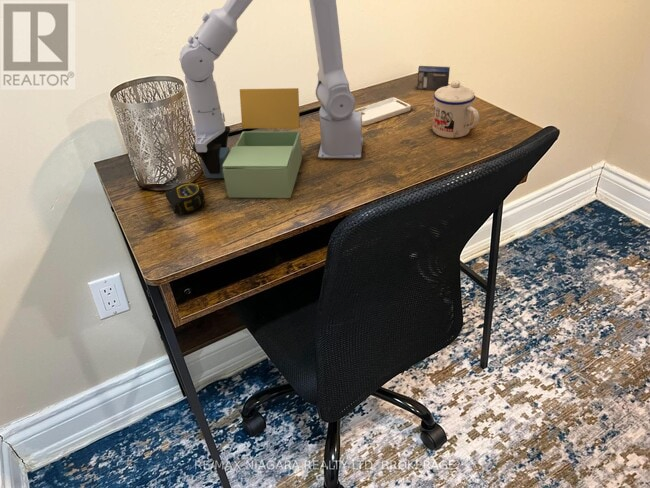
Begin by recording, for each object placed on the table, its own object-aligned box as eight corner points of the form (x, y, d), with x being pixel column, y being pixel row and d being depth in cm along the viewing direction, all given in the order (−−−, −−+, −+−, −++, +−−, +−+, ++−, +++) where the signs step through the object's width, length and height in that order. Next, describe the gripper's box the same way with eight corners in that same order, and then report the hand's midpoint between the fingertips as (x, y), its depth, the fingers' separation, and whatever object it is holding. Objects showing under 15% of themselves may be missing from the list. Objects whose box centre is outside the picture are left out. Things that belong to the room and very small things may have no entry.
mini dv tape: (417, 89, 143) (418, 67, 139) (417, 87, 144) (419, 65, 141) (447, 90, 141) (449, 68, 138) (447, 88, 142) (449, 66, 139)
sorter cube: (232, 167, 114) (228, 147, 111) (227, 178, 110) (223, 158, 107) (211, 166, 115) (207, 147, 112) (205, 178, 111) (200, 158, 108)
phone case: (363, 126, 126) (411, 110, 132) (363, 121, 126) (411, 105, 131) (347, 116, 132) (393, 101, 137) (346, 111, 131) (393, 96, 137)
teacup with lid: (423, 129, 123) (426, 81, 116) (450, 118, 127) (454, 71, 120) (461, 147, 115) (466, 97, 108) (488, 135, 119) (496, 85, 112)
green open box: (246, 157, 117) (241, 127, 113) (302, 157, 116) (299, 127, 111) (228, 197, 104) (221, 166, 100) (290, 198, 103) (286, 166, 98)
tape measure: (167, 203, 104) (162, 187, 101) (200, 193, 106) (196, 177, 104) (176, 220, 99) (171, 203, 97) (210, 209, 101) (206, 192, 99)
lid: (242, 128, 113) (242, 128, 113) (299, 128, 111) (299, 128, 112) (239, 89, 110) (240, 89, 111) (298, 88, 109) (298, 88, 109)
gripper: (197, 93, 110) (209, 150, 118) (174, 122, 98) (189, 184, 107) (229, 92, 109) (239, 150, 117) (210, 122, 97) (223, 184, 106)
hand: (218, 166), depth 112 cm, fingers closed on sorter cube, 5 cm apart
